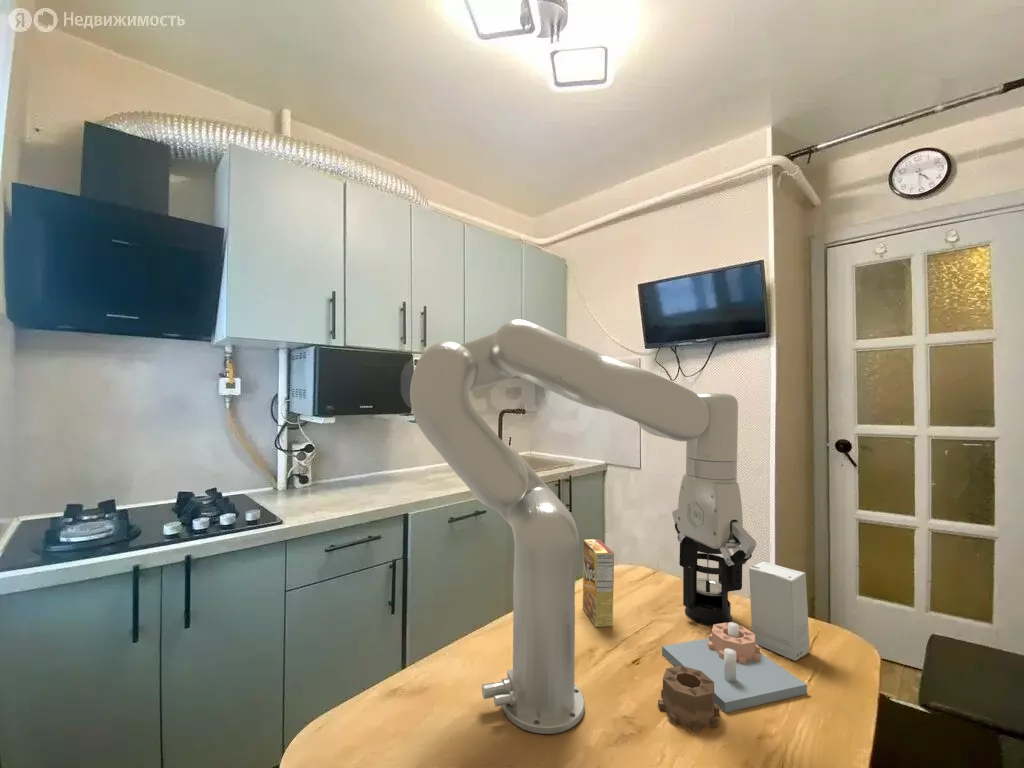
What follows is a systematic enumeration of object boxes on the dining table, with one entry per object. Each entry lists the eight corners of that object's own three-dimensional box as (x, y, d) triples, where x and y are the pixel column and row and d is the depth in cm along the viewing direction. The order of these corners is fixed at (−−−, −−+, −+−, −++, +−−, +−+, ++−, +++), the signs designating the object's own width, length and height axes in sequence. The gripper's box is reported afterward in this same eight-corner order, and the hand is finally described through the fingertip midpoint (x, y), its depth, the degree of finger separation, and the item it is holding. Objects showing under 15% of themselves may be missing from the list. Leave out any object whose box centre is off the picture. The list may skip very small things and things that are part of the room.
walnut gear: (682, 735, 64) (682, 703, 65) (648, 697, 73) (648, 668, 73) (732, 724, 67) (731, 692, 67) (693, 687, 75) (693, 660, 75)
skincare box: (810, 653, 85) (810, 573, 86) (794, 663, 82) (794, 580, 82) (764, 633, 92) (764, 559, 93) (748, 641, 89) (748, 565, 89)
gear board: (724, 712, 69) (724, 672, 69) (661, 654, 85) (662, 621, 85) (808, 693, 74) (808, 656, 74) (734, 641, 89) (734, 610, 89)
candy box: (581, 607, 103) (582, 539, 103) (599, 606, 103) (600, 538, 104) (595, 628, 94) (595, 553, 94) (614, 626, 95) (615, 552, 95)
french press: (708, 601, 106) (708, 502, 106) (743, 620, 98) (743, 512, 98) (669, 611, 101) (670, 507, 101) (703, 632, 93) (704, 518, 93)
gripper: (658, 462, 80) (656, 559, 80) (733, 481, 64) (730, 604, 64) (693, 461, 83) (691, 556, 82) (774, 479, 66) (772, 598, 66)
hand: (708, 577), depth 73 cm, fingers open, 9 cm apart
